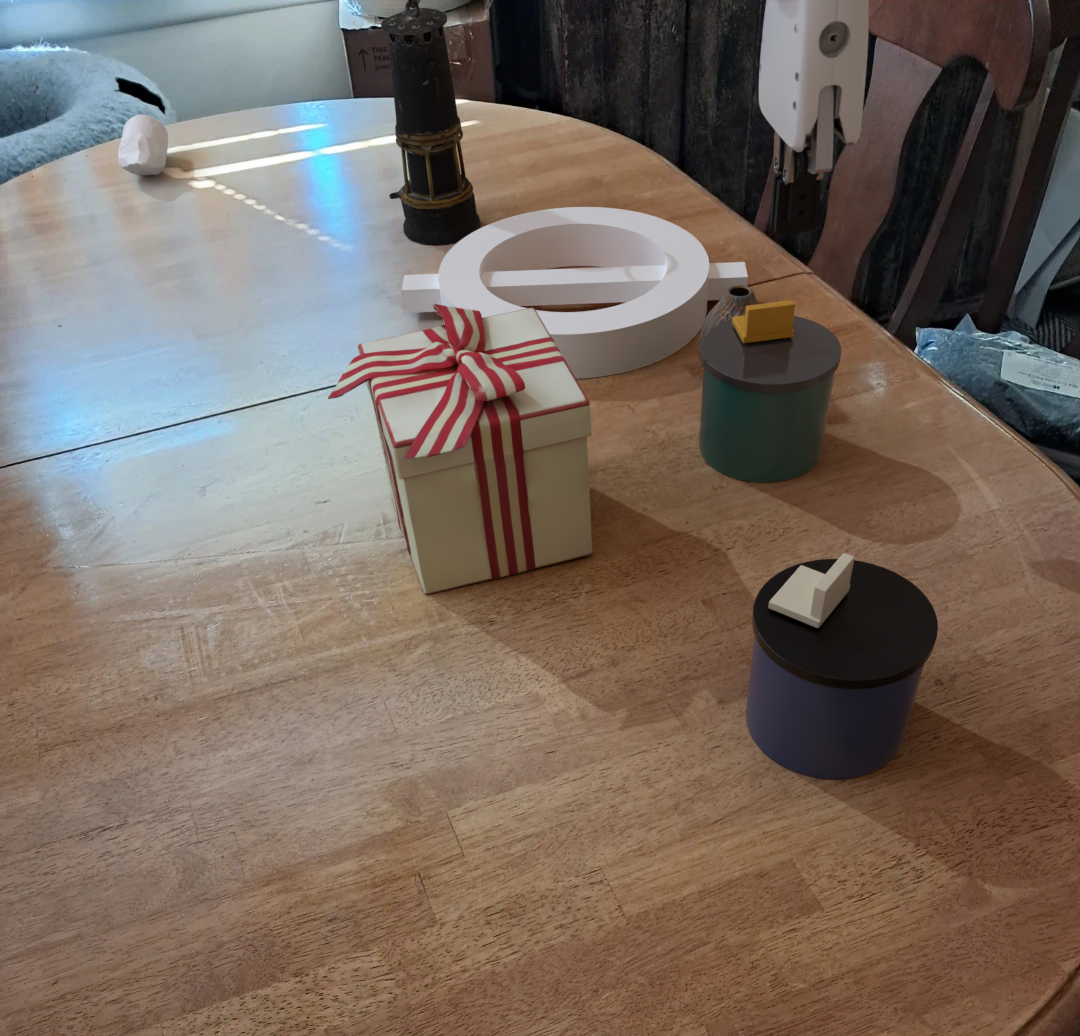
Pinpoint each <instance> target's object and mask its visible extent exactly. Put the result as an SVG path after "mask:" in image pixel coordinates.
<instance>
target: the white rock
mask: <svg viewBox="0 0 1080 1036" xmlns="http://www.w3.org/2000/svg"><path fill="white" fill-rule="evenodd" d="M168 147H169V133H168V131H167V128H166V127H165V126H164V124H163V123H162V122H161V121H159V120H158V119H156V118H155V117H153V116H150V115H147V114H136V115H134V116H131V117H130V118H129V119H128V120H127V121H126V122H125V124H124V126H123V130H122V136H121V138H120V142H119V146H118V152H117V157H118V164H119V167H120V168H122V169H124V170H125V171H126V172H128V173H131V174H133V175H136V176H157V175H159V174H161V173H162V172H163V171H164V169H165V168H166V163H167V157H168V149H169V148H168Z"/></svg>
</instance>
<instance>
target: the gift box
mask: <svg viewBox="0 0 1080 1036" xmlns="http://www.w3.org/2000/svg"><path fill="white" fill-rule="evenodd" d="M433 307H434V309H435V310H436V311H437V312H436V311H434V312H433V313H434V315H437V316H438V317H439V318H442V320H444V321H443V324H442V325H439V326H436V327H435V326H434V327H432V328H427V329H422V330H419V331H414V332H411V333H406V334H400V335H395V336H390V337H386V338H382V339H381V338H379V339H376V340H372V341H367V342H364V343H359V344H358V345H357V351H358V355H357V356H355V357H353V358H352V360H351V361H350V362H349V364H348V365H347V366H346V367H345V369H344V371H343V372H342V374H341V377H339V380H337V383H336V385H335V386H334V389H332V391H331V393H330V394H329V395H328V397H327V399H328V400H332V399H337V398H340V397H343V396H344V395H346V394H347V393H349V392H351V391H353V390H354V389H356V388H358V387H359V386H362V385H363V384H364V383H365V385H366V388H367V390H368V393H369V395H370V398H371V401H372V406H373V410H374V416H375V421H376V426H377V430H378V435H379V440H380V445H381V451H382V454H383V460H384V465H385V469H386V475H387V479H388V485H389V490H390V496H391V499H392V503H393V506H394V509H395V512H396V515H397V522H398V528H399V530H400V532H401V534H402V537H403V538H404V541H405V542H406V548H407V549H406V550H407V552H408V555H409V556H410V557H411V559H412V563H413V567H414V570H415V572H416V576H417V578H418V581H419V584H420V587H421V588H422V589H421V590H422V592H423V594H424V595H431V594H434V593H439V592H444V591H447V590H452V589H455V588H459V587H464V586H468V585H472V584H476V583H477V584H478V583H481V582H485V581H489V580H495V579H499V578H503V577H509V576H511V575H515V574H521V573H523V572H527V571H531V570H535V569H539V568H543V567H547V566H551V565H555V564H559V563H563V562H568V561H571V560H576V559H580V558H583V557H587V556H591V555H593V553H594V552H593V550H594V548H593V538H592V517H591V516H592V515H591V514H592V513H591V495H590V475H589V474H590V473H589V452H588V451H589V449H588V437H590V436H592V418H591V416H592V415H591V401H590V400H589V398H588V397H587V394H586V393H585V391H584V390H583V388H582V386H581V384H580V383H579V381H578V379H576V378H575V376H574V374H573V373H572V371H571V369H570V368H569V366H568V365H567V362H566V361H565V359H564V358H563V356H562V354H561V352H560V351H559V349H558V347H557V346H556V344H555V342H554V340H553V339H552V337H551V336H550V334H549V332H548V331H547V329H546V327H545V325H544V324H543V322H542V320H541V319H540V317H539V315H538V313H537V312H536V310H537V309H536V308H534V307H526V308H527V309H522V310H518V311H513V312H508V313H503V314H499V315H494V316H489V317H484V318H482V316H481V313H480V311H476V310H470V309H463V308H455V307H449V306H443V305H438V304H435V305H433ZM444 324H445V325H444Z"/></svg>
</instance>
